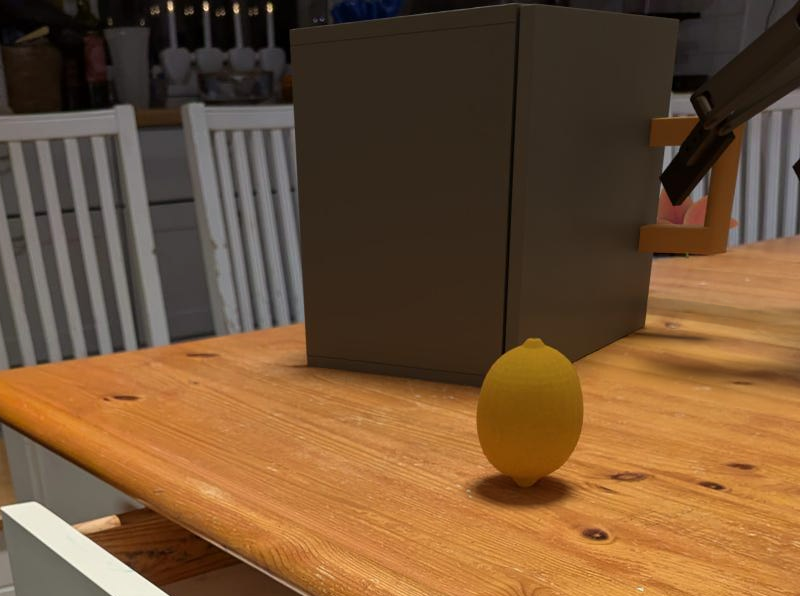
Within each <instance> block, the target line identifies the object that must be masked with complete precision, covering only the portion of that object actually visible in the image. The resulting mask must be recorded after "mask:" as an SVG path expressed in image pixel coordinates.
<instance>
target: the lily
mask: <svg viewBox="0 0 800 596" xmlns="http://www.w3.org/2000/svg"><path fill="white" fill-rule="evenodd" d="M707 198H708V194H707V195H704V196H703V197H701V198H699V199H698V200H696V201H695V202H694V201H693V199H692V198H691V196H690V195H689V196H688V197H687V198H686V200H685V201H684V202H683V203H682V205H681V206H673V205H672V203H671V201H670V199H669V197H668V195H667V193H666V191H665V189H664V187H663V186H662V189H661V190H660V197H659V206H658V214H657V223H656V224H676V225H704V220H705V213H706V205H707ZM737 226H739V221H738V220H737V219H735V218H733V217H731V222H730V229H729V230H731V229H734V228H736V227H737ZM653 254H661V253H660V252H653ZM684 254H685V258H686V259H689V258H690V256H689V255H690V254H689V253H684Z"/></svg>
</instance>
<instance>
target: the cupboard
mask: <svg viewBox="0 0 800 596" xmlns="http://www.w3.org/2000/svg"><path fill="white" fill-rule="evenodd" d="M528 4H529V3H521V2H513V3H505V4H496V5H487V6H477V7H472V8H471V7H469V8H462V9H453V10H445V11H436V12H429V13H428V12H427V13H419V14H412V15H403V16H393V17H385V18H376V19H369V20H368V19H367V20H359V21H351V22H342V23H334V24H326V25H317V26H316V25H315V26H308V27H301V28H299V27H298V28H293V29H292V28H291V29H289V46H290V48H289V49H290V50H289V51H290V68H291V69H290V70H291V86H292V106H293V107H292V108H293V125H294V126H293V127H294V145H295V160H296V161H295V162H296V164H295V165H296V182H297V184H296V185H297V200H298V201H297V202H298V219H299V238H300V256H301V257H300V259H301V274H302V275H301V277H302V294H303V295H302V296H303V313H304V314H303V317H304V332H305V333H304V334H305V351H306V366H307V367H313V368H322V369H329V370H337V371H344V372H353V373H361V374H368V375H376V376H386V377H393V378H399V379H408V380H416V381H423V382H431V383H438V384H439V383H440V384H446V385H447V384H449V385H457V386H464V387H472V388H480V389H481V388H482V385H483V382H484V379H485V377H486V375H487V373H488V372H489V370H490V368H491V367H492V365H493V364H494V363H495V362H496V361H497V360H498V359H499V358H500V357H501V356H502V355H504V354H505V343H506V320H507V298H508V276H509V254H510V232H511V210H512V188H513V165H514V143H515V121H516V99H517V77H518V55H519V33H520V10H521V5H528Z"/></svg>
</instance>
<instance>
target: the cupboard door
mask: <svg viewBox="0 0 800 596" xmlns="http://www.w3.org/2000/svg"><path fill="white" fill-rule="evenodd" d="M527 4H528V5H521V10H520V33H519V55H518V77H517V99H516V121H515V143H514V165H513V188H512V210H511V232H510V254H509V276H508V298H507V320H506V343H505V353H507V352H508V351H510V350H512V349H514V348H516V347H519V346H521V345H523V344H524V342H525V341H526V340H527V339H530V338H538V339H541V340H542V342H543V343H544V344H545V345H546V346H549V347H551V348H553V349H555V350H557V351H558V352H560V353H561V354H563V355H564V356H565V357H566V358H567V359H568V360H569V361H570V362H571V364H573V363H574V362H576V361H578V360H580V359H582V358H584V357H586V356H587V355H590V354H592V353H594V352H596V351H598V350H600V349H602V348H603V347H606V346H608V345H610V344H612V343H614V342H616V341H618V340H620V339H622V338H623V337H625V336H628V335H630V334H632V333H634V332H636V331H638V330H640V329H642V328H643V327H645V326H646V321H647V310H648V303H649V294H650V285H651V277H652V266H653V259H654V258H653V257H654V253H653V252H660V253H659V254H661V253H663V254H685V253H688V255H690V254H693V255H722V254H723V255H724V254H726V253H727V249H728V243H729V234H730V230H731V229H730V222H731V218H732V214H733V208H734V201H735V196H736V195H735V194H736V187H737V181H738V173H739V166H740V160H741V152H742V148H743V147H742V146H743V139H744V133H745V127H746V122H745V123H743V124H742V125H740V126H738V127H737V128H735V129H734V130H732V131H733V133H734V135H735V137H736V138H735V139H734V140H733V142H732V143H731V144H730V145H729V147H728V148H727V149H726V150H725V152H724V153H723V154H722V155H721V156H720V158H719V159H718V160H717V161H716V163H715V164H714V165H713V166H712V168H711V169H710V175H709V182H708V183H709V185H708V191H707V195H708V198H707V205H706V213H705V220H704V225H676V224H656V223H657V220H658V219H657V214H658V206H659V199H660V195H661V188H662V183H661V181H660V179H659V177H660V176H661V174H662V173H663V171H664V170H663V169H664V159H665V150H666V147H680V146H681V144H682V143H683V142H684V140H686V138H687V136H688V135H689V134H690V132H691V131H692V130H693V128H694V127H695V126H696V124H697V123H698V122H699V118H698V116H697V115H696V116H673V117H669V115H670V106H671V99H672V98H671V97H672V90H673V79H674V71H675V70H674V69H675V62H676V55H677V54H676V53H677V45H678V37H679V36H678V35H679V29H680V28H679V27H680V19H677V18H671V17H670V18H668V17H660V16H650V15H649V16H648V15H641V14H632V13H623V12H614V11H604V10H597V9H596V10H595V9H588V8H587V9H586V8H579V7H578V8H577V7H567V6H559V5H550V4H541V3H530V4H529V3H527Z"/></svg>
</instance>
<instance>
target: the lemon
mask: <svg viewBox="0 0 800 596" xmlns="http://www.w3.org/2000/svg"><path fill="white" fill-rule="evenodd" d="M582 390H583V389H582V386H581V381H580V377H579V375H578V371H577V370H576V368H575V366H574V365H573V363H571V362H570V361H569V360H568V359H567V358H566V357H565V356H564V355H563V354H561V353H560V352H558V351H557V350H555V349H553V348H551V347H549V346H546V345H545V344H544V343H543V342H542V340H541V339H538V338H530V339H527V340H526V341H525V342H524V344H523V345H521V346H519V347H516V348H514V349H512V350H510V351H508V352H507V353H505V354H504V355H502V356H501V357H500V358H499V359H498V360H497V361H496V362H495V363H494V364H493V365H492V367H491V368H490V370H489V372H488V373H487V375H486V377H485V379H484V382H483V385H482V388H480V391H479V394H478V395H479V396H478V400H477V406H476V420H475V421H476V432H477V437H478V441H479V444H480V449H481V450H482V453H483V455H484V457H485V458H486V460H487V461H488V462H489V463H490V464H491V466H492V467H493V468H495V470H496V471H498V472H500V473H501V474H503V475H505V476H508V477H510V478H512V480H513V481H514V482H515V483H516V484H517V485H518V487H520V488H525V489H526V488H530V487H532V486H533V485H534V484H535V483H537V481H539V480H540V479H541V478H543V477H546V476H550V475H551V474H552V473H554V472H556V471H558V470H559V469H561V467H563V466H564V464H565V463H566V462H567V461H568V460H569V458H571V456H572V454H573V453H574V451H575V450H576V447H577V445H578V443H579V440H580V438H581V433H582V429H583V423H584V413H585V412H584V411H585V410H584V409H585V408H584V397H583V391H582Z"/></svg>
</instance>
